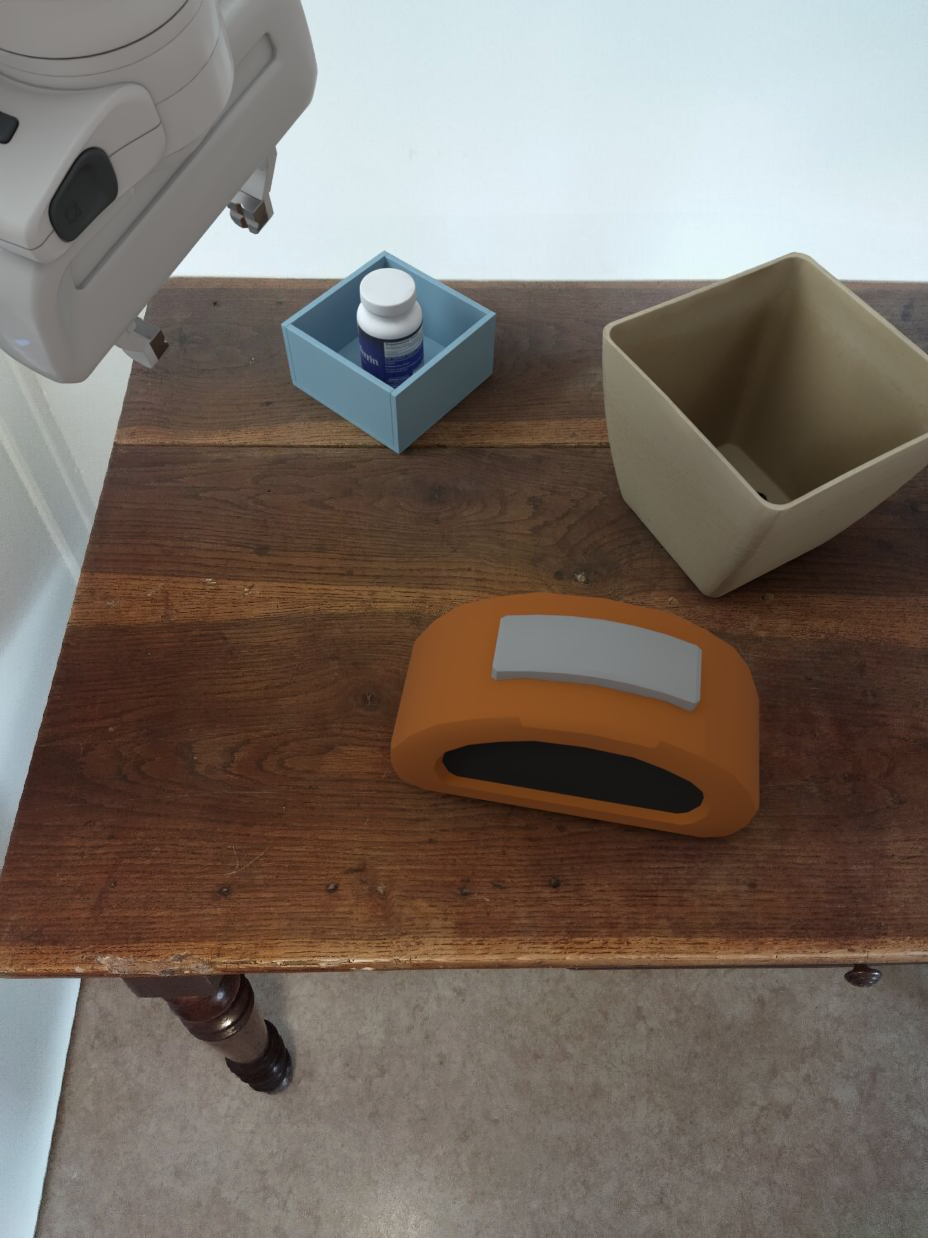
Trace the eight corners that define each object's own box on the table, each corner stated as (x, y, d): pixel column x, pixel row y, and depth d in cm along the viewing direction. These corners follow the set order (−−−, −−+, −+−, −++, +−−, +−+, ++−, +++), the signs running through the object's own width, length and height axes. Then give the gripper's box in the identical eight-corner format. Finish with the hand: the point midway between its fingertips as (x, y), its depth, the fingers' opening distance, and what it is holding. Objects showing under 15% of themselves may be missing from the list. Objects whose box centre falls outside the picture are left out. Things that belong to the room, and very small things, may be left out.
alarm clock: (391, 792, 62) (376, 683, 47) (417, 680, 66) (410, 549, 52) (729, 851, 60) (819, 756, 46) (731, 731, 65) (813, 610, 50)
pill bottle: (354, 363, 83) (343, 272, 74) (411, 347, 84) (407, 256, 75) (375, 404, 80) (367, 315, 72) (433, 387, 81) (432, 297, 73)
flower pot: (738, 405, 82) (802, 244, 67) (885, 552, 73) (993, 404, 59) (567, 483, 76) (596, 327, 62) (703, 650, 68) (773, 515, 54)
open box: (292, 384, 82) (280, 323, 76) (388, 311, 87) (384, 249, 81) (399, 454, 78) (395, 396, 72) (492, 373, 83) (496, 313, 77)
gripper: (196, -160, 36) (263, 123, 49) (-149, 193, 30) (31, 405, 44) (329, -101, 35) (360, 171, 48) (-2, 272, 29) (136, 464, 43)
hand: (202, 284), depth 46 cm, fingers open, 8 cm apart
